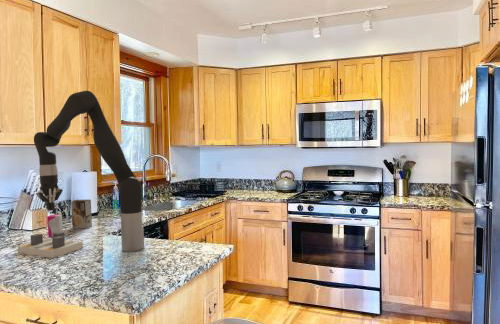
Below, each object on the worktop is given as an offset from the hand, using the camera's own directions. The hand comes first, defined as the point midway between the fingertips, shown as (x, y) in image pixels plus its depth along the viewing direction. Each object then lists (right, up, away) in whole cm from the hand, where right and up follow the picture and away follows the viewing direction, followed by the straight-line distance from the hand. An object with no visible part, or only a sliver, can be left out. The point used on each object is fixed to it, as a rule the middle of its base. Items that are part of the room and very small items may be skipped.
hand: (50, 210), depth 174 cm
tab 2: (+5, -16, -2) cm, 17 cm away
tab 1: (-3, -16, -5) cm, 17 cm away
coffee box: (-3, -16, +40) cm, 43 cm away
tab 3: (+9, -16, -11) cm, 21 cm away
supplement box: (-8, -17, +19) cm, 26 cm away
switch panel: (+4, -18, -7) cm, 19 cm away
